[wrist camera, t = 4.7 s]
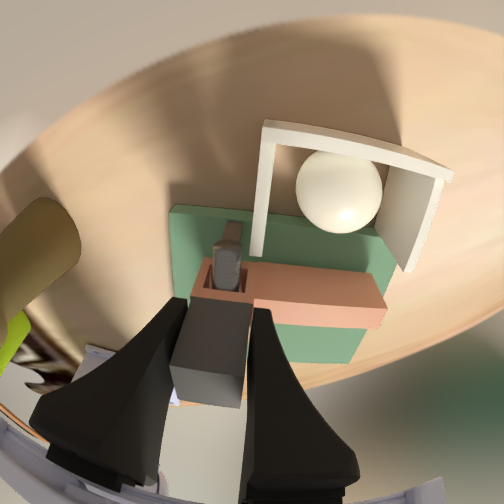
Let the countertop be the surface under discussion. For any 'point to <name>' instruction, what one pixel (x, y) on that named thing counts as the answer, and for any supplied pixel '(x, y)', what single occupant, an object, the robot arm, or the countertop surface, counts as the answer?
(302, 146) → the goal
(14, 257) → the cork
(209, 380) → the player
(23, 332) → the soap dispenser
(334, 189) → the ball
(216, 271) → the rod
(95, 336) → the countertop surface
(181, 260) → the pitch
